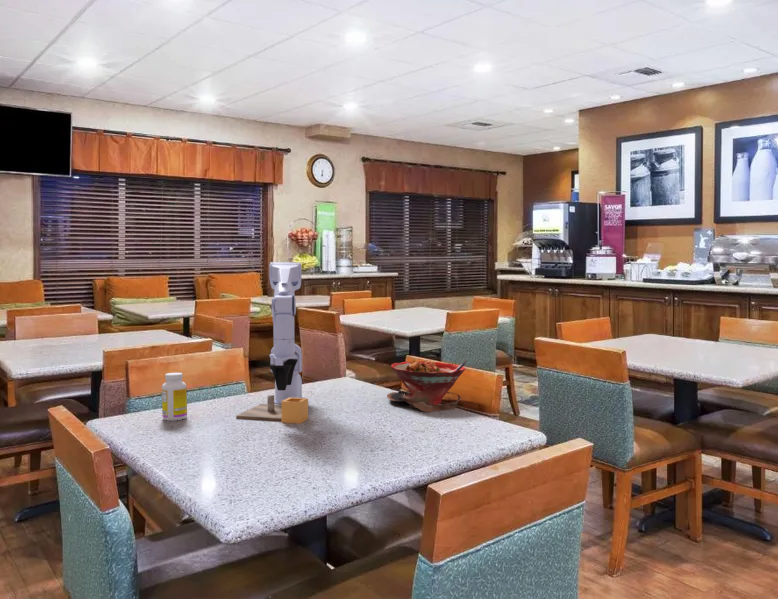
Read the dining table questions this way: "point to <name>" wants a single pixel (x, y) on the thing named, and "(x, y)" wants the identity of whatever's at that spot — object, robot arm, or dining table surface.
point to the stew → (426, 384)
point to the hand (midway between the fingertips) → (284, 387)
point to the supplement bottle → (174, 397)
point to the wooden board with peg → (263, 411)
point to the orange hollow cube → (294, 410)
